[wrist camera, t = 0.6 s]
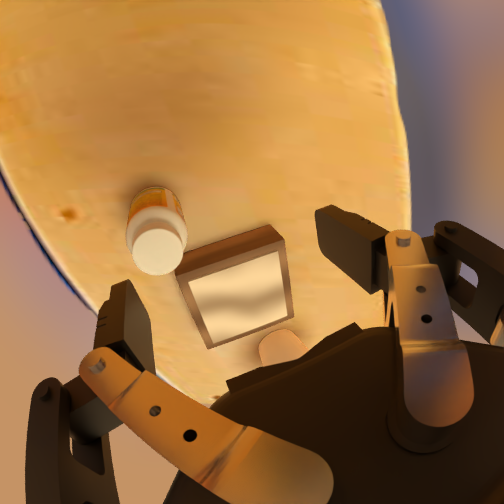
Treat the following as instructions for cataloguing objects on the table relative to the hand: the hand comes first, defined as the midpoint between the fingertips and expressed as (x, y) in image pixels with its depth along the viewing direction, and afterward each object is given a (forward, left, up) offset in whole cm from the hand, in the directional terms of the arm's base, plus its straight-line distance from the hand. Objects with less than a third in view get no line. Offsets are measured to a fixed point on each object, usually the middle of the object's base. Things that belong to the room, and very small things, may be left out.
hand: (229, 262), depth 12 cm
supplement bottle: (+4, -4, -20) cm, 20 cm away
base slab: (+16, +2, -20) cm, 25 cm away
